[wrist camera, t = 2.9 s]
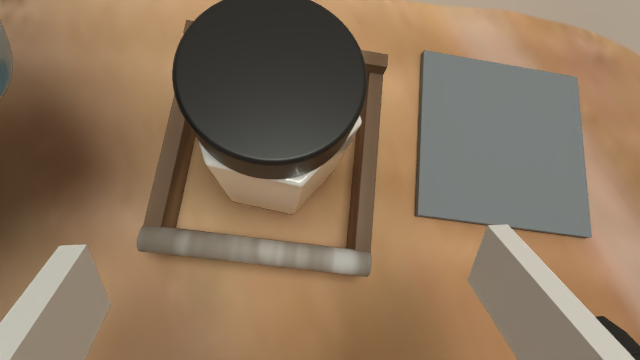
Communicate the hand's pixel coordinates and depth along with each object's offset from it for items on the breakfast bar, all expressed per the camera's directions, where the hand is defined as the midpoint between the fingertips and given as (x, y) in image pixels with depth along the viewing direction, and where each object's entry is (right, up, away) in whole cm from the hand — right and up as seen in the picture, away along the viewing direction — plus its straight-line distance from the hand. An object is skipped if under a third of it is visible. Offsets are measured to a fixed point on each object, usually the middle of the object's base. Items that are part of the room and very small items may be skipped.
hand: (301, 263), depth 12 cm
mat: (+15, +6, +17) cm, 23 cm away
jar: (-3, +5, +14) cm, 15 cm away
